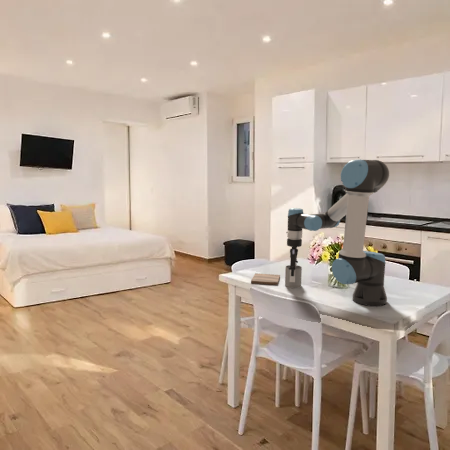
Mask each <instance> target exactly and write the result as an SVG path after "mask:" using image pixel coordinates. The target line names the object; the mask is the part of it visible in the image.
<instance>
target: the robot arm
mask: <svg viewBox="0 0 450 450" xmlns="http://www.w3.org/2000/svg"><path fill="white" fill-rule="evenodd" d="M389 178H390V170H389V168H388V166H387V164H386V163H385V162H383V161H381V160H378V159H362V158H361V159H352V160H350V161H348V162H347V163H346V164H345V165H344V166H343V168H342V169H341V172H340V181H341V182H342V185H343V186H344V188H345V189H344V191H345V194H344V195H343V196H342V197H341V198H340V199H338V200H337V202H335V203H334V204H333V205H332V206H331V207H330V208H328V210H326V211H325V212H324V213H313V214H312V213H311V214H310V213H308V214H307V213H304V209H302V208H298V207H292V208H289V209H288V213H287V231H286V235H287V239H286V246H288V247H291V248H290V249H289V254H290V256H289V258H290V263H289V265H290V268H289V270H290V281H289V282H295V265H297V264H298V263H299V261H298V260H297V258H298V254H299V253H298V252H299V249H298V248H300V247H302V243H303V240H302V238H303V230H306V231H307V230H308V231H313V232H317V231H319V230H320V229H321V230H322V229H333V228H337V227H338V226H339V225H340V223H341V220H342V219H343V218H344V217H345V225H344V234H343V244H342V249H340V250H339V251H338V257H337V258H336V259H334V261H333V262H332V264H331V272H332V275H333V277H334V278H335V280H336V281H337V282H338V283H340V284H342V285H353V284H356V286H355V289H354V290H353V293H352V301H353V302H355V303H357V304H358V305H363V304H364V306H368V305H370V306H371V307H380V305H382V306H384V304H385V305H387V304H386V303H388V297H387V292H386V289H385V273H386V271H385V270H386V256H385V254H383V253H380V252H375V251H367V250H364V246H365V238H366V237H365V235H366V225H367V218H368V211H369V200H370V196H371V195H373V194H375V193H377V192H378V191H379V190H381V189H382V188H383V187H384V186H385V185H386V184H387V183H388V180H389ZM297 266H298V265H297Z"/></svg>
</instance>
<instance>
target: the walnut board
mask: <svg viewBox="0 0 450 450" xmlns="http://www.w3.org/2000/svg"><path fill="white" fill-rule="evenodd" d="M280 278H281V274H275V273H274V274H272V273H271V274H270V273H258V272H257V273H256V272H255V273H254V275H253V276H252V278H251V280H250V284H254V285H257V284H259V285H271V286H272V285H273V286H278V285H279V283H280Z"/></svg>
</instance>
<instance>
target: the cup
mask: <svg viewBox="0 0 450 450" xmlns="http://www.w3.org/2000/svg"><path fill="white" fill-rule="evenodd" d="M289 268H290V264H289V265H285V273H284V278H285V279H284V286H285V287H286V288H291V289H299V288H301V287H302V272H303V267H302V266H300V265H295V282H289V281H290V270H289Z"/></svg>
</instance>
